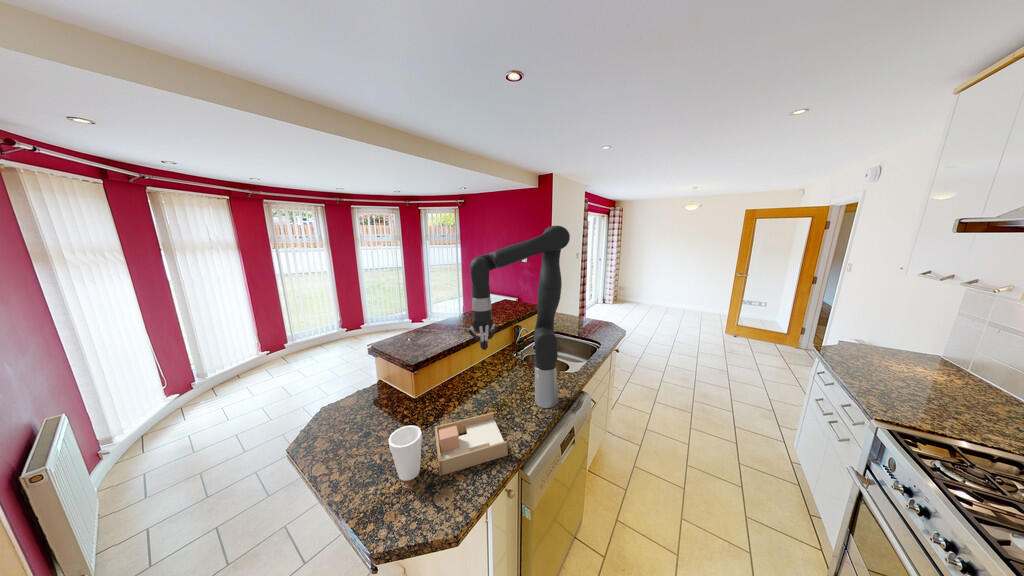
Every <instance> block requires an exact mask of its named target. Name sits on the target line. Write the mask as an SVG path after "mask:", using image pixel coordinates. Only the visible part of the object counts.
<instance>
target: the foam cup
mask: <svg viewBox="0 0 1024 576" xmlns="http://www.w3.org/2000/svg"><path fill="white" fill-rule="evenodd" d="M422 440H423V433H422V430H421V428H420V427H419V426H417V425H405V426H401V427H400V428H398V429H397V428H396V430H394V431H393V432H392V433H391V434H390V436H389V438H388V446H389V451H390V453H391V456H392V459H393V462H394V465H395V469H396V472H397V475H398V478H399V480H400V481H403V482H408V481H411V480H413V479H414V478H416V477H417V476H418V475H419V474H420V471H421V456H422Z"/></svg>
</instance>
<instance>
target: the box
mask: <svg viewBox="0 0 1024 576" xmlns="http://www.w3.org/2000/svg"><path fill="white" fill-rule="evenodd" d="M452 426H456V427H457V431H458V435H459V447H460V448H458V449H454V450H451V451H447V452H444V453H441V448H440V440H439V430H441V429H445V428H449V427H452ZM434 433H435V435H434V436H435V444H436V453H437V461H438V469H439V475H440V477H441V476H444V475H447V474H451V473H455V472H458V471H462V470H464V469H467V468H471V467H474V466H477V465H481V464H483V463H488V462H491V461H494V460H498V459H500V458H503V457H507V456H509V455H508V452H509V451H508V450H509V448H508V441H507V440H504V437H503V436H502V433H501V431H500V429H499V427H498V424H497V422H496V420H495V413H494V412H488V413H484V414H481V415H477V416H473V417H468V418H463V419H461V420H460V419H459V420H456V421H453V422H448V423H445V424H444V423H443V424H439V425H436V426H434ZM464 433H466V434H464ZM460 434H462V435H460Z"/></svg>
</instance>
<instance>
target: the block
mask: <svg viewBox="0 0 1024 576" xmlns="http://www.w3.org/2000/svg"><path fill="white" fill-rule="evenodd" d="M459 436H460V434H458V431H457V427H456V426H452V427H449V428H445V429H441V430H439V440H440V448H441V453H444V452H447V451H451V450H454V449H458V448H460V447H459Z"/></svg>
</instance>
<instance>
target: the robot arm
mask: <svg viewBox="0 0 1024 576" xmlns="http://www.w3.org/2000/svg"><path fill="white" fill-rule="evenodd" d="M570 237H571V236H570V232H569V230H568V229H567V228H566V227H564V226H562V225H551V226H547V228H545V229H544V231H543V232H542V234H540V235H538V236H535V237H533V238H531V239H528V240H524V241H523V240H522V241H520V242H517V243H513V244H510V245H507V246H504V247H502V248H499V249H496V250H494V251H492V252H488V253H485V254H481V255H479V256H476V257H473V259H472V260H471V262H470V277H471V300H472V301H471V306H472V307H471V309H472V324H471V326H470V327H469V328H466V330H467V332H468V334H469V335H470V336H471V337H472V338H473V339H474V340H475V341H477V342H479V347H480V349H481V350H482V351H486V350H487V349H488V348H489V344H488V341H489V340H491V339H492V338H493V337H494V335H495V334H496V333H497V331H498V330H499V326H498V325H497V324H495V323H494V321H493V314H492V312H493V311H492V309H493V308H492V307H493V306H492V305H493V304H492V298H491V287H490V286H491V285H490V271H493V270H495V269H500V268H502V269H503V268H504V267H505V268H506V267H508V266H510V265H513V264H515V263H518V262H522V261H523V260H526V259H527V258H530V257H534V256H537V255H541V265H540V272H539V280H538V289H537V306H536V307H537V316H536V321H535V327H534V331H533V332H534V333H533V336H532V337H533V341H534V402H535V405H536V406H538V407H539V408H542V409H551V408H554V407H555V406H556V405H558V404H559V383H558V381H557V362H558V347H559V345H558V338H557V336H556V334H555V327H554V326H555V315H556V313H557V310H558V307H559V304H560V300H561V294H562V273H561V272H562V271H561V266H560V259H561V251H562V250H563V249H564V248H565V247H567V246H568V244H569V242H570V239H571V238H570ZM475 331H476V332H477V334H478V335H477V334H476V333H475Z"/></svg>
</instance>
